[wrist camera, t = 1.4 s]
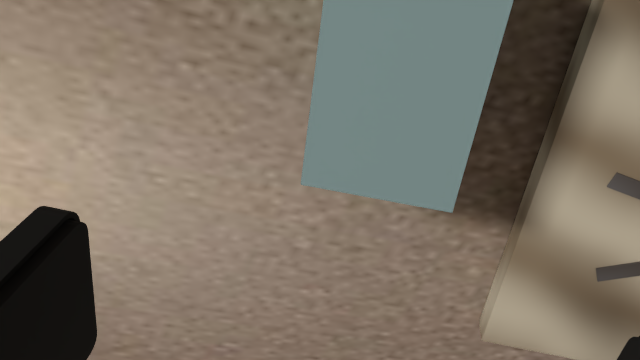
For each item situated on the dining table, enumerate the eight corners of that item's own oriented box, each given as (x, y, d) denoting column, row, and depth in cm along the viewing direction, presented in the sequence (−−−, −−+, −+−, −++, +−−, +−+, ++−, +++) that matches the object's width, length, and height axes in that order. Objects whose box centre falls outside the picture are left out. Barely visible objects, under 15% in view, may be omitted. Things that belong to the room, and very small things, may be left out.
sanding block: (356, -103, 23) (335, -96, 17) (501, -82, 23) (532, -66, 17) (325, 117, 28) (300, 184, 22) (444, 138, 28) (452, 212, 22)
